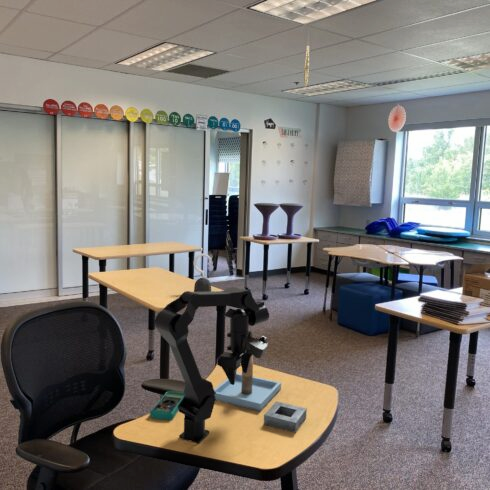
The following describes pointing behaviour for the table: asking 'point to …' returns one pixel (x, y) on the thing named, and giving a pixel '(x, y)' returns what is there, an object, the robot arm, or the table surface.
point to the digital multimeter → (167, 406)
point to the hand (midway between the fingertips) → (239, 378)
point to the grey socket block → (285, 416)
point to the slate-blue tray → (256, 401)
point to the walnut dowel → (247, 379)
